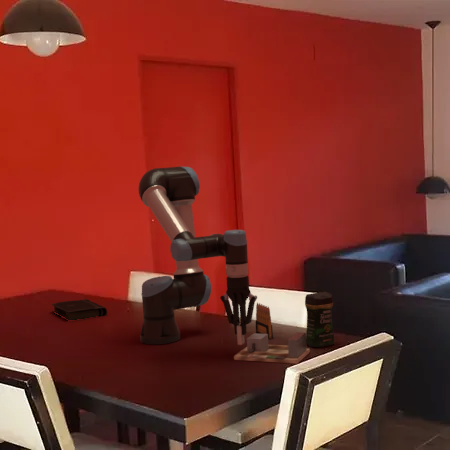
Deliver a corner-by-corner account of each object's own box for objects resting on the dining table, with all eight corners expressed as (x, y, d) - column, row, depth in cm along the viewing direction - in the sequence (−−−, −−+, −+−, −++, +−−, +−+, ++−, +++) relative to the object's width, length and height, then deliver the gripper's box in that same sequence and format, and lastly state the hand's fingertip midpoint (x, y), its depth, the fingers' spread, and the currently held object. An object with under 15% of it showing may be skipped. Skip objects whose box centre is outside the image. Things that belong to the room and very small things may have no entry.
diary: (89, 308, 349) (88, 298, 349) (107, 317, 327) (106, 306, 327) (50, 313, 340) (49, 303, 340) (66, 323, 318) (65, 311, 318)
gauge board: (233, 359, 246) (233, 352, 246) (249, 348, 259) (249, 341, 259) (297, 364, 238) (296, 356, 237) (309, 352, 251) (309, 345, 250)
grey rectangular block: (243, 356, 245) (242, 341, 244) (254, 347, 255) (254, 333, 254) (257, 357, 243) (256, 342, 242) (268, 348, 253) (267, 334, 252)
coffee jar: (316, 349, 254) (313, 296, 252) (302, 344, 261) (300, 293, 259) (338, 344, 258) (336, 292, 256) (325, 340, 265) (323, 289, 263)
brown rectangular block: (288, 357, 241) (287, 339, 240) (297, 349, 250) (297, 332, 249) (297, 358, 240) (296, 340, 239) (306, 350, 249) (305, 332, 248)
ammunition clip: (273, 338, 272) (271, 306, 270) (268, 339, 271) (267, 307, 270) (260, 332, 281) (258, 301, 280) (255, 333, 281) (254, 302, 280)
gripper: (215, 277, 249) (219, 345, 252) (251, 277, 244) (255, 347, 246) (224, 273, 256) (228, 340, 258) (259, 274, 251) (262, 342, 253)
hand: (241, 343), depth 252 cm, fingers closed
